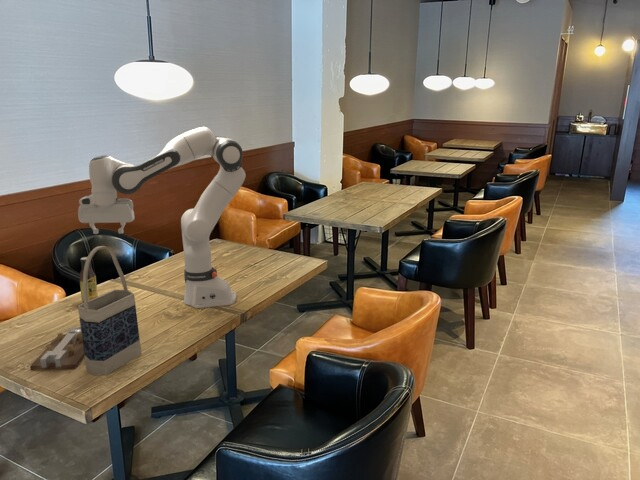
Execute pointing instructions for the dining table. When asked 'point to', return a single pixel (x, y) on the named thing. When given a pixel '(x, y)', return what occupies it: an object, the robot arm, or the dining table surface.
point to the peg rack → (73, 354)
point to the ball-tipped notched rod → (61, 349)
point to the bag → (108, 325)
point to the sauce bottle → (88, 281)
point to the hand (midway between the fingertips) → (108, 233)
